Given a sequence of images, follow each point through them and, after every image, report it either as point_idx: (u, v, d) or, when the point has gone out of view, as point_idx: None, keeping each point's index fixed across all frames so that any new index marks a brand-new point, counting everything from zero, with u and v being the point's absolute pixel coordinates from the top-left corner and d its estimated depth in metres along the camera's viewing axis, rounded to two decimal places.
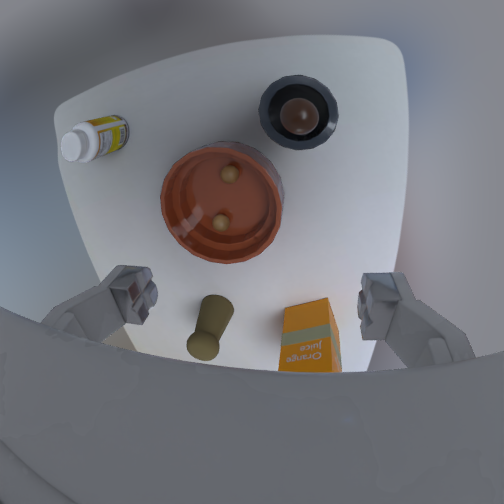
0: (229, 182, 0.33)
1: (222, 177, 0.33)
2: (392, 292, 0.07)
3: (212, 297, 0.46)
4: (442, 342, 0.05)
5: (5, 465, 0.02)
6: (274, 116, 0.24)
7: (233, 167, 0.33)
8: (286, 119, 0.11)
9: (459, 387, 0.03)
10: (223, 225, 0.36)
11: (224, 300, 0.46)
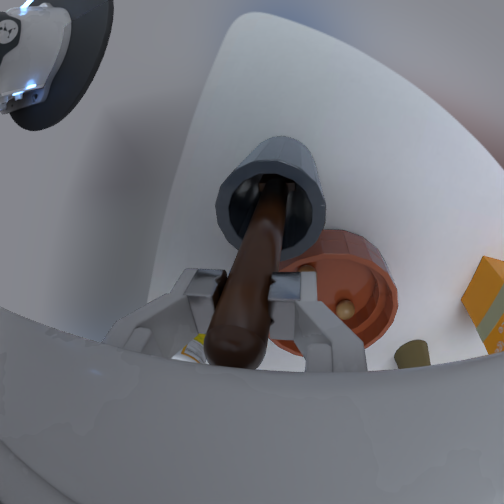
0: None
1: None
2: (292, 292, 0.08)
3: (399, 351, 0.35)
4: (326, 349, 0.06)
5: (5, 465, 0.02)
6: None
7: (302, 269, 0.29)
8: None
9: (459, 387, 0.03)
10: (349, 311, 0.30)
11: (410, 344, 0.34)
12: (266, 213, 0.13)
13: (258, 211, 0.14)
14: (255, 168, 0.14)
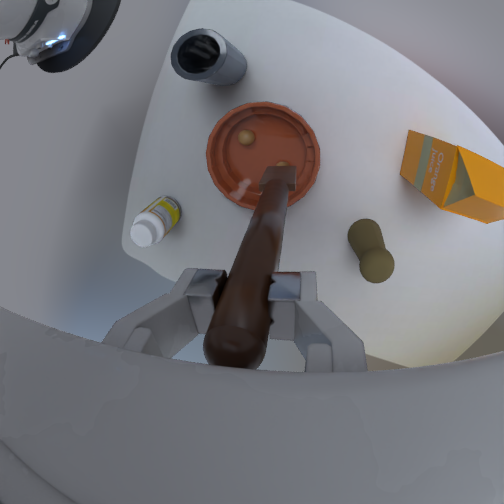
0: (251, 140, 0.36)
1: (243, 143, 0.36)
2: (292, 292, 0.08)
3: (350, 230, 0.42)
4: (326, 349, 0.06)
5: (5, 465, 0.02)
6: None
7: (241, 131, 0.36)
8: None
9: (459, 387, 0.03)
10: None
11: (360, 221, 0.41)
12: (265, 213, 0.13)
13: (258, 211, 0.14)
14: (190, 34, 0.21)
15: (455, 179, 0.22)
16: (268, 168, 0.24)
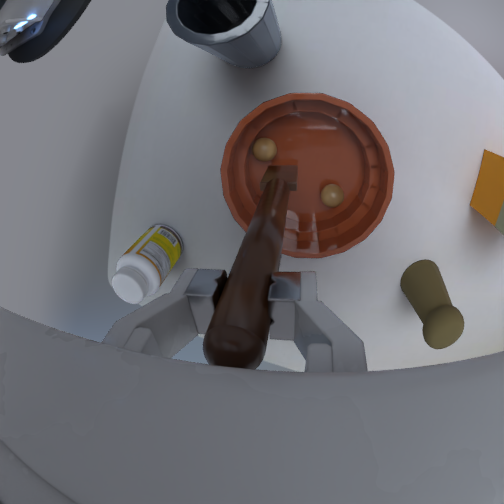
0: (257, 157, 0.24)
1: None
2: (292, 292, 0.08)
3: (406, 274, 0.30)
4: (326, 349, 0.06)
5: (5, 465, 0.02)
6: None
7: (260, 138, 0.25)
8: None
9: (459, 387, 0.03)
10: (336, 193, 0.25)
11: (418, 264, 0.29)
12: (266, 213, 0.13)
13: (259, 211, 0.14)
14: None
15: None
16: (269, 167, 0.24)
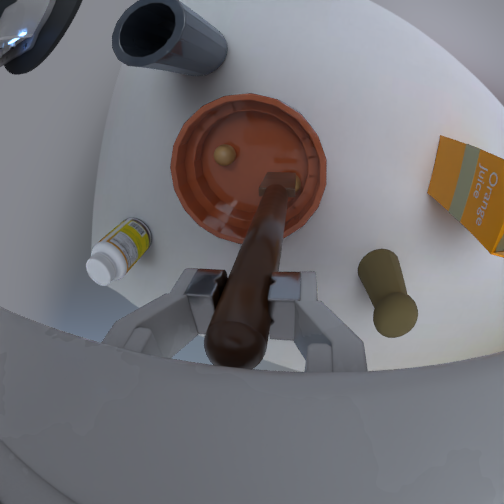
0: (227, 165, 0.28)
1: (217, 163, 0.28)
2: (292, 292, 0.08)
3: (362, 263, 0.33)
4: (326, 349, 0.06)
5: (5, 465, 0.02)
6: None
7: (222, 149, 0.27)
8: None
9: (459, 387, 0.03)
10: (297, 176, 0.28)
11: (374, 253, 0.32)
12: (266, 216, 0.14)
13: (259, 214, 0.14)
14: (138, 4, 0.12)
15: None
16: (268, 174, 0.25)
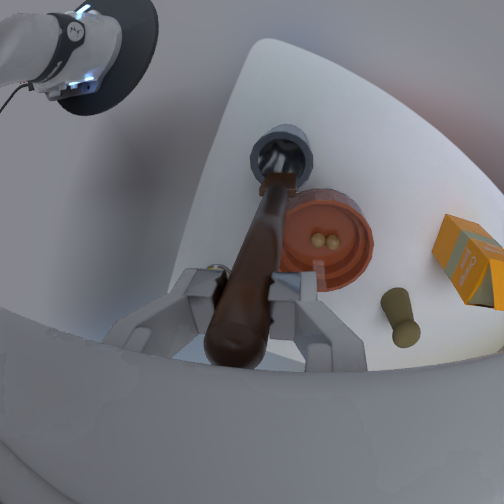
0: None
1: None
2: (292, 292, 0.08)
3: (384, 297, 0.46)
4: (326, 349, 0.06)
5: (5, 465, 0.02)
6: None
7: None
8: None
9: (459, 387, 0.03)
10: (337, 237, 0.40)
11: (393, 291, 0.45)
12: (267, 216, 0.14)
13: (259, 214, 0.14)
14: (273, 136, 0.25)
15: (481, 283, 0.26)
16: (269, 174, 0.25)
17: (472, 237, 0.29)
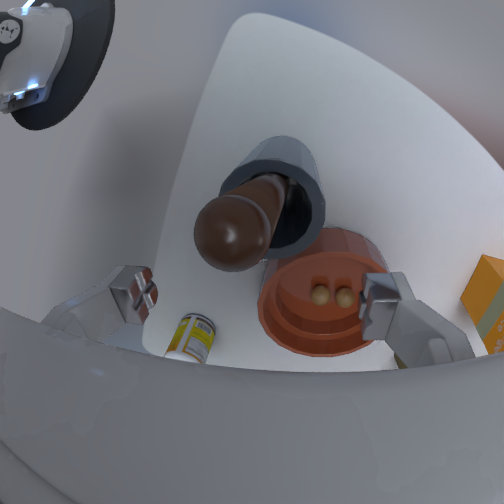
0: None
1: None
2: (392, 292, 0.07)
3: None
4: (442, 342, 0.05)
5: (5, 465, 0.02)
6: None
7: (330, 295, 0.31)
8: (218, 266, 0.06)
9: (459, 387, 0.03)
10: (352, 292, 0.30)
11: None
12: (269, 174, 0.13)
13: None
14: (256, 167, 0.14)
15: None
16: None
17: None
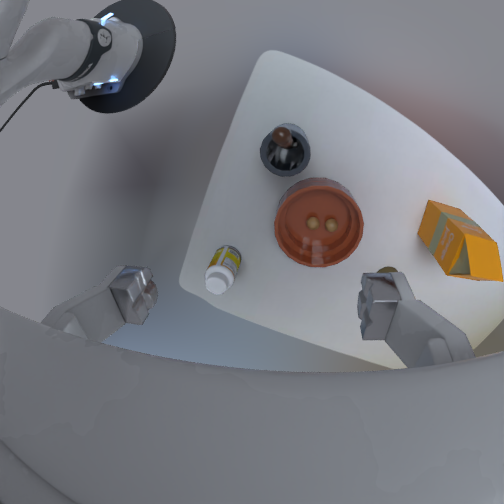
0: None
1: None
2: (392, 292, 0.07)
3: None
4: (441, 342, 0.05)
5: (5, 465, 0.02)
6: (282, 162, 0.38)
7: (319, 223, 0.48)
8: (279, 141, 0.23)
9: (459, 387, 0.03)
10: (335, 221, 0.47)
11: (384, 269, 0.52)
12: None
13: None
14: None
15: (459, 256, 0.33)
16: None
17: (451, 217, 0.36)
